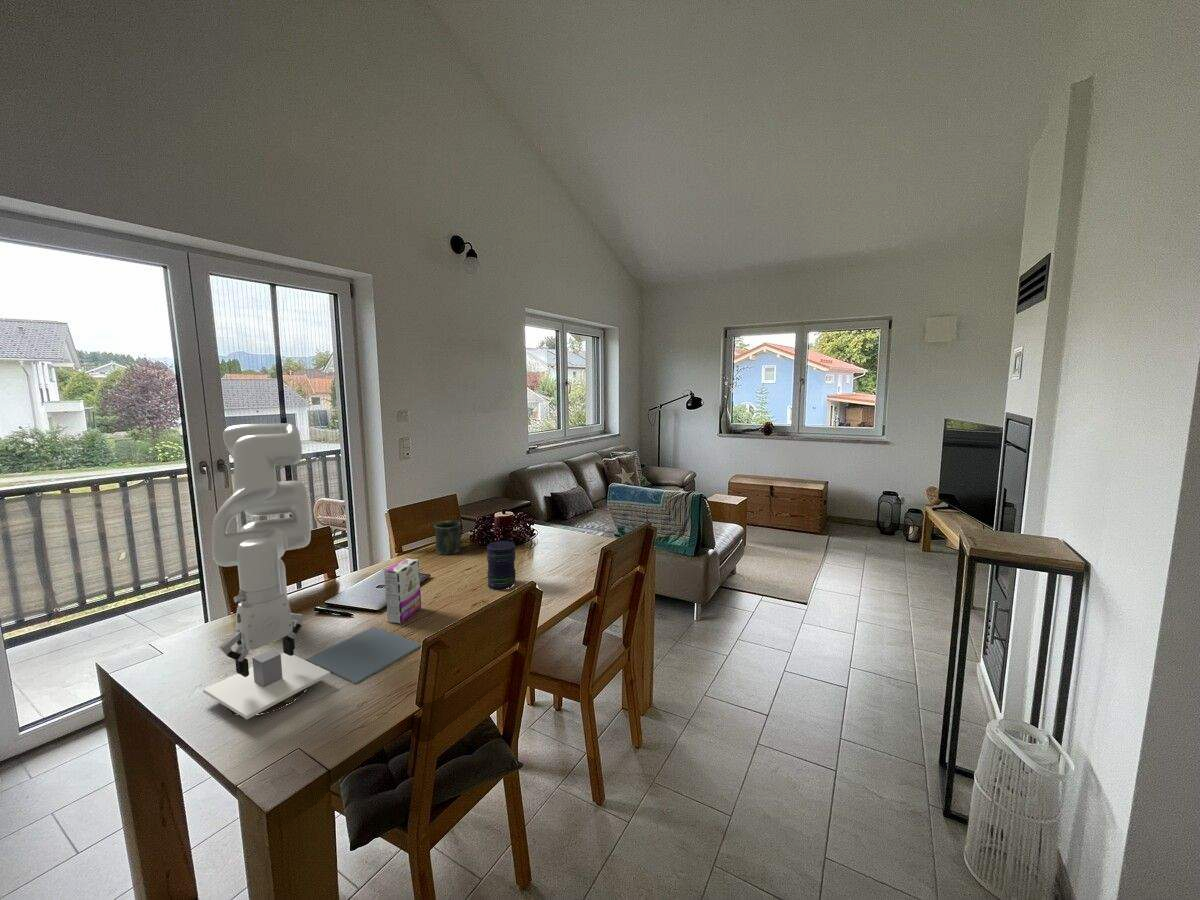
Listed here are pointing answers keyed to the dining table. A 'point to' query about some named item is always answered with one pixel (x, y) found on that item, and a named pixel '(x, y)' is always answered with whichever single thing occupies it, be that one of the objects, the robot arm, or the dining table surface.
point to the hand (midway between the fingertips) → (267, 664)
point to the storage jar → (501, 564)
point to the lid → (266, 683)
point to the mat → (364, 654)
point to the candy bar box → (402, 590)
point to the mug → (448, 537)
